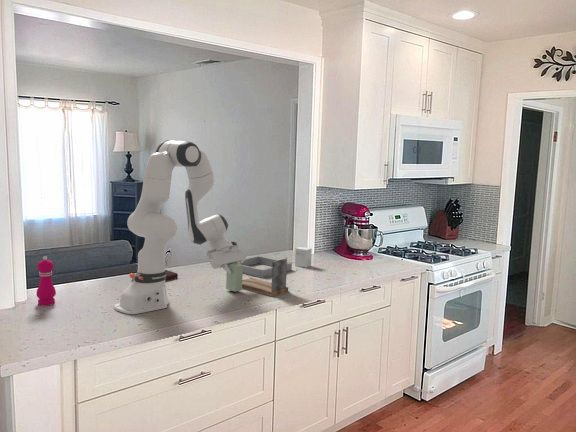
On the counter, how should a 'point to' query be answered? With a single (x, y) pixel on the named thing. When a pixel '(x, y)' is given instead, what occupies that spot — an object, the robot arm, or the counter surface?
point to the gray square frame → (260, 272)
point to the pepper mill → (45, 283)
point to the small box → (303, 257)
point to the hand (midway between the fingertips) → (235, 272)
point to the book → (168, 275)
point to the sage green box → (234, 277)
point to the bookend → (265, 287)
